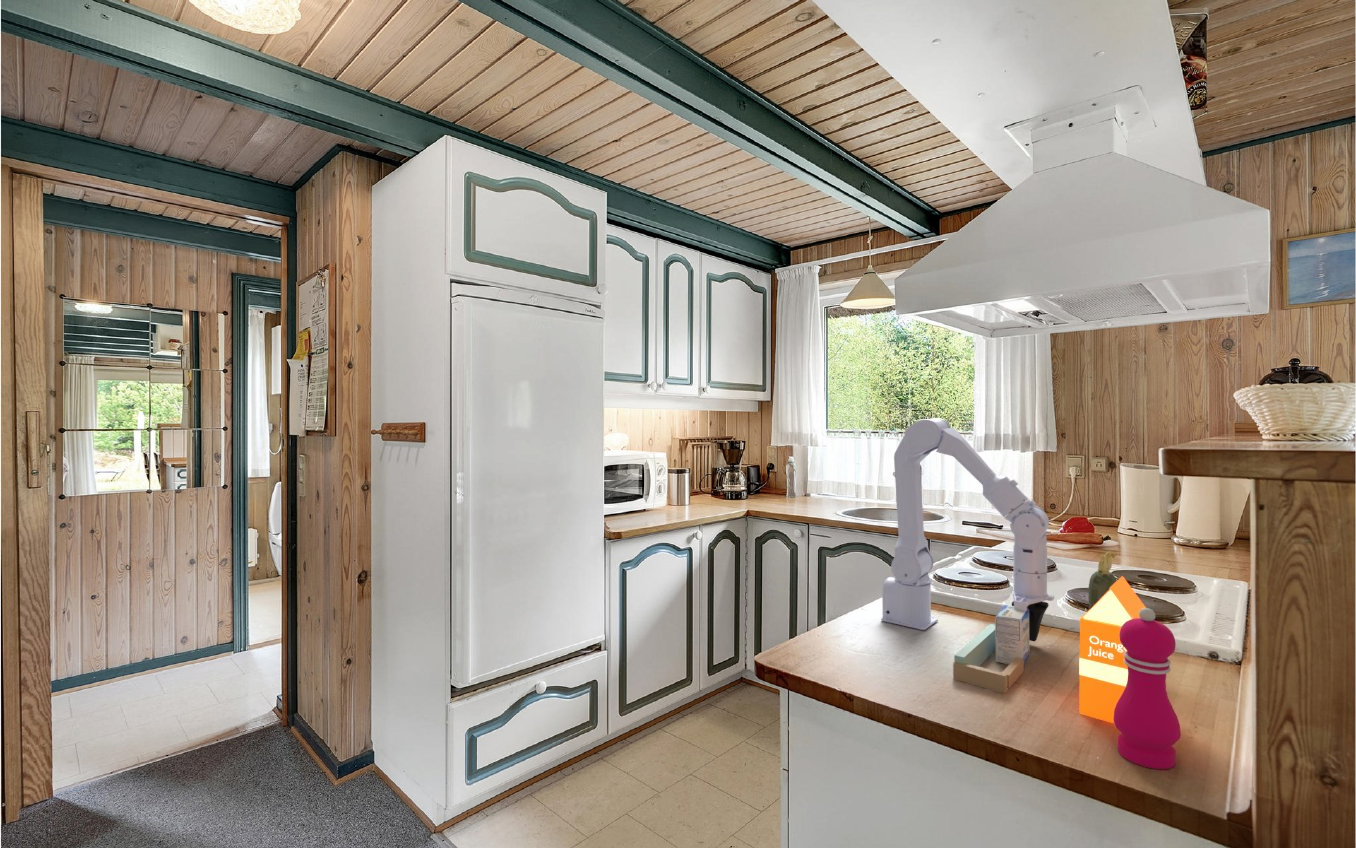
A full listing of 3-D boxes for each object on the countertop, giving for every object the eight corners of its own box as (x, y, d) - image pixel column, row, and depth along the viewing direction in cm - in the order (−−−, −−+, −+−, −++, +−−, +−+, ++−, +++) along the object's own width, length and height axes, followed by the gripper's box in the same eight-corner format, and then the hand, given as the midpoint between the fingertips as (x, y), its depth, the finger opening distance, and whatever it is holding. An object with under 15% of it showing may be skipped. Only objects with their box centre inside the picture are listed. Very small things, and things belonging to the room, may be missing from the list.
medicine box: (1022, 668, 113) (1022, 620, 113) (994, 662, 116) (994, 615, 116) (1029, 653, 120) (1029, 608, 119) (1003, 648, 122) (1003, 603, 122)
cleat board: (953, 679, 109) (953, 656, 109) (990, 644, 125) (990, 623, 125) (1005, 693, 104) (1005, 669, 104) (1037, 654, 119) (1037, 633, 119)
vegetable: (1089, 660, 116) (1089, 551, 115) (1087, 652, 120) (1087, 546, 119) (1118, 664, 114) (1119, 553, 113) (1115, 656, 118) (1116, 548, 117)
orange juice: (1078, 713, 97) (1078, 583, 96) (1093, 694, 103) (1094, 571, 102) (1140, 731, 91) (1142, 593, 91) (1152, 710, 98) (1154, 580, 97)
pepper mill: (1192, 775, 81) (1194, 618, 80) (1128, 769, 82) (1129, 616, 82) (1161, 744, 88) (1163, 601, 87) (1103, 740, 89) (1104, 598, 89)
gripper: (1044, 582, 115) (1043, 656, 116) (1062, 565, 126) (1061, 633, 127) (1001, 575, 120) (1001, 646, 121) (1022, 560, 131) (1022, 625, 131)
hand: (1029, 639), depth 124 cm, fingers closed
